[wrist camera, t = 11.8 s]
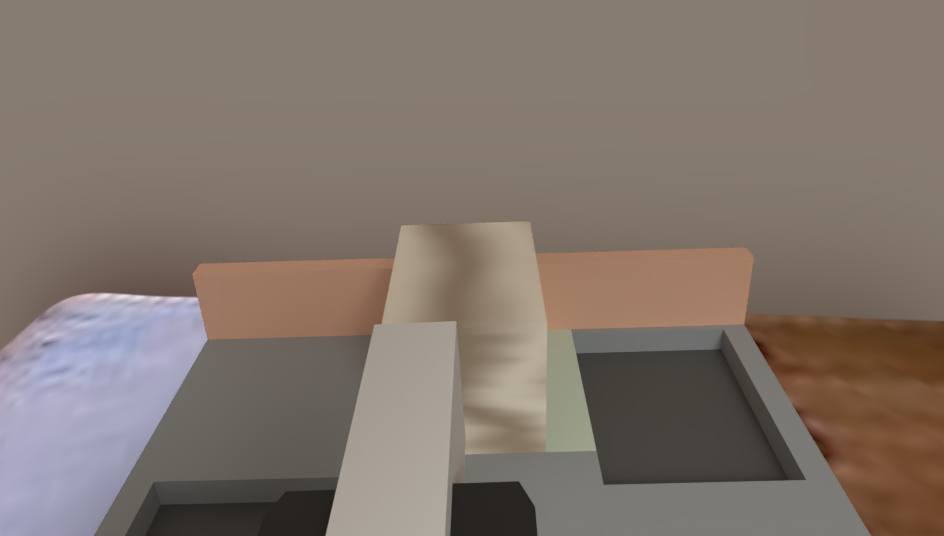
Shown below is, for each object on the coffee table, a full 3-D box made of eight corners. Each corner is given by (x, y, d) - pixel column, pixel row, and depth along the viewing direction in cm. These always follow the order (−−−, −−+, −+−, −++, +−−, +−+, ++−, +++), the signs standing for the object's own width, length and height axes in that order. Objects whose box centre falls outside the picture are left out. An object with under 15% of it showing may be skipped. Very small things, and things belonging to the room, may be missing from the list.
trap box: (733, 337, 52) (746, 247, 49) (1001, 815, 26) (1068, 686, 22) (220, 351, 53) (200, 263, 50) (-39, 830, 26) (-118, 708, 23)
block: (530, 330, 50) (529, 221, 47) (545, 452, 40) (547, 322, 36) (410, 334, 50) (401, 225, 47) (394, 456, 40) (380, 328, 36)
